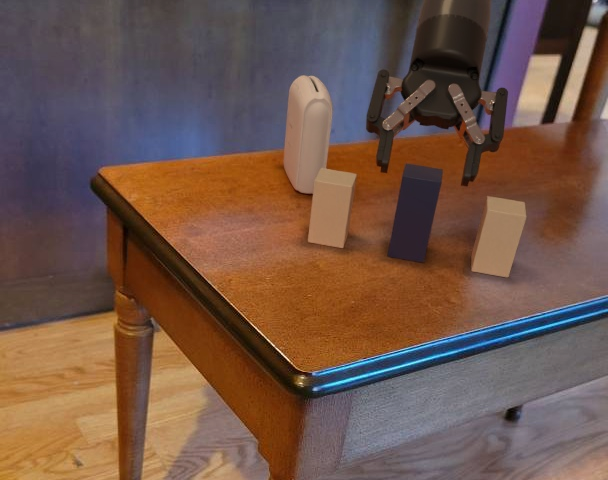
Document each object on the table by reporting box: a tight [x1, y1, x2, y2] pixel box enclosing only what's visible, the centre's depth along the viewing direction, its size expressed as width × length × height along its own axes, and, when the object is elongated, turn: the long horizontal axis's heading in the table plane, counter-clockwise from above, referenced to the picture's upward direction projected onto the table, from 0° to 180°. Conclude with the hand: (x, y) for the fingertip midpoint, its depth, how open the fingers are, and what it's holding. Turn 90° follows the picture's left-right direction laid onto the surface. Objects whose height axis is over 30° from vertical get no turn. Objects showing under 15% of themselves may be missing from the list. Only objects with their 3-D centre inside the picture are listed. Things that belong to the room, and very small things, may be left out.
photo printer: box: [283, 75, 334, 195], centre depth 92 cm, size 10×4×12 cm, turn 11°
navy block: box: [387, 162, 444, 264], centre depth 79 cm, size 4×4×9 cm
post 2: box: [470, 195, 527, 279], centre depth 79 cm, size 4×4×7 cm
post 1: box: [307, 168, 358, 249], centre depth 80 cm, size 4×4×7 cm
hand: (424, 176), depth 77 cm, fingers open, 8 cm apart
